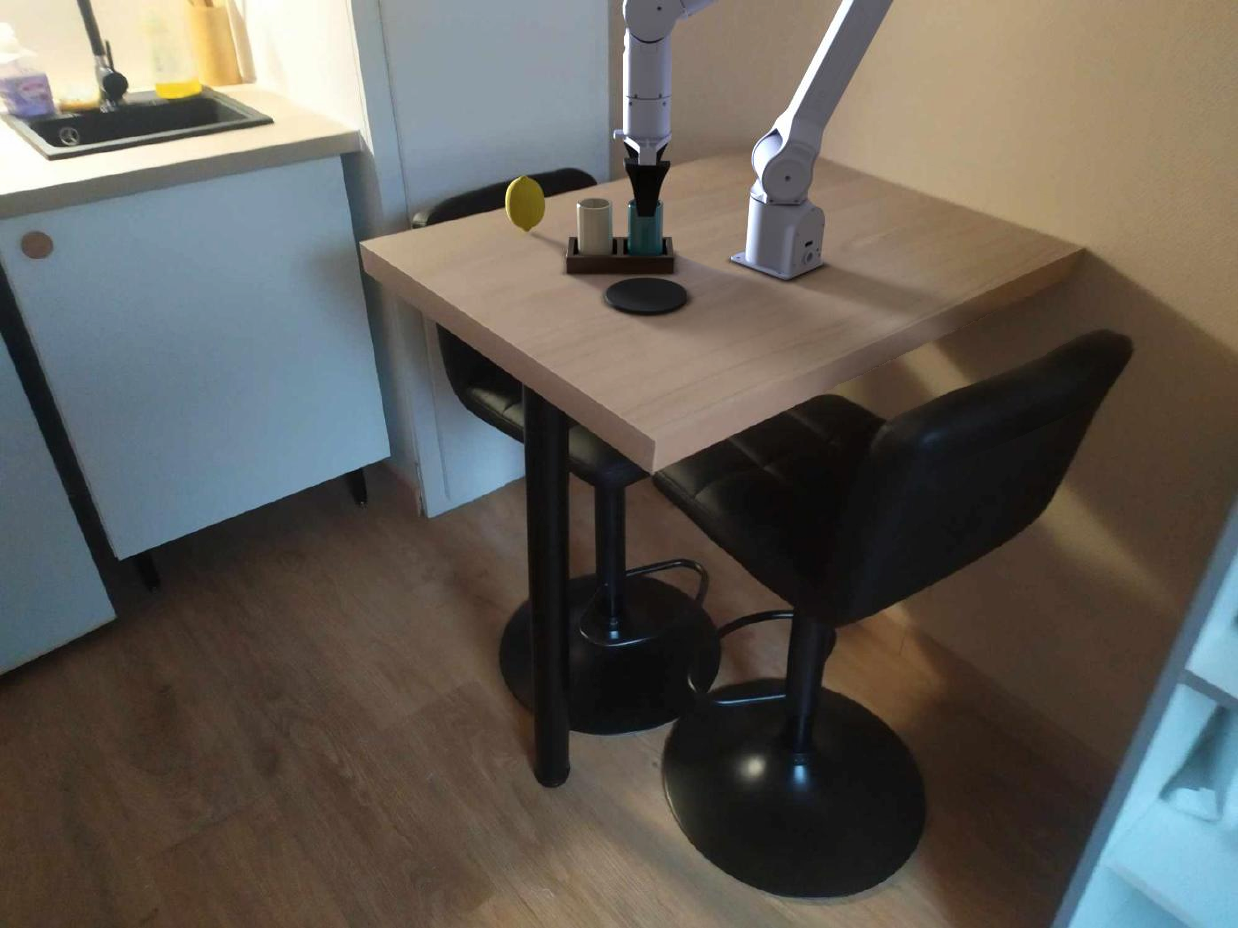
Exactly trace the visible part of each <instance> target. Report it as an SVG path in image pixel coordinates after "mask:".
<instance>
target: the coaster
mask: <svg viewBox="0 0 1238 928" xmlns="http://www.w3.org/2000/svg"><path fill="white" fill-rule="evenodd" d="M605 300H606V303H607V304H608V305H609V306H610V307H612V308H613V309H615V310H618V311H621V312H623V313H627V314H631V315H641V316H655V315H662V314H663V315H664V314H667V313H671V312H674V311H677V310H679V309H680V308H682V307H683V306H684V305H685V304H686V303H687V301H688V292H687V290H686V289H685V288H684V286H682V285H680V284H679V283H677V282H675V281H672V280H669V279H666V278H665V279H664V278H659V277H648V276H647V277H645V276H644V277H642V276H641V277H632V278H626V279H623V280H620V281H617V282H614V283H613V284H611V285H610V286H609V287H608V288H607V289H606V290H605Z"/></svg>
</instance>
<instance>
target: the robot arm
mask: <svg viewBox="0 0 1238 928" xmlns="http://www.w3.org/2000/svg"><path fill="white" fill-rule="evenodd" d="M718 1H719V0H623V4H622V5H621V12H622V16H623V19H624V22H625V25H626V28H625V34H624V36H623V37H624V38H623V39H624V41H623V43H624V47H625V50H624V52H623V55H622V56H623V57H622V58H623V63H622V65H623V70H622V71H623V72H622V73H623V74H622V75H623V77H622V79H623V80H622V81H623V82H622V83H623V84H622V85H623V87H622V89H623V91H622V92H623V93H622V94H623V95H622V96H623V101H622V102H623V105H622V106H623V111H622V112H623V113H622V114H623V115H622V116H623V117H622V118H623V119H622V120H623V123H622V125H623V126H622V127H623V128H622V129H614V130H613V139H614V140H622V141H623V145H624V147H625V149H626V151H627V154H628V157H623V168H624V170H625V172H626V174H627V176H628V178H629V180H630V185H631V189H632V194H633V199H634V201H635V207H636V212H637V215H638V217H654V215H655V212H656V209H657V204H658V199H659V198H660V193H661V189H662V186H663V183H664V180H665V178H666V176H667V174H668V172H669V171H670V168H671V164H672V163H671V160H662V159H663V158H662V157H663V155H664V153H665V150H666V148H667V146H668V145H669V142H670V141H671V140H672V136H673V135H672V134H673V133H672V130H671V115H672V114H671V111H672V109H671V108H672V79H673V77H672V76H673V52H672V51H671V41H672V31H673V30H674V28H675V26H676V22H677V21H678V20H683V21H685V20H687V19H688V18H691V17H692V16H694V15H696V14H697V13H699V12H701V11H702V10H704V9H706V8H708V7H709V6H711V5H713V4H714V3H716V2H718ZM894 1H895V0H842V1H841V4H840V5H839V7H838V10H836V11H837V12H836V13H835V15H834V18H833V19H832V21H831V22H830V25H829V27H828V29H827V31H826V33H825V36H824V37H823V39H822V41H821V43H820V45H819V47H818V49H817V50H816V52H815V54H814V57H813V59H812V60H811V62H810V64H809V66H808V68H807V70H806V73H805V74H804V76H803V78H802V80H801V82H800V84H799V86H798V88H797V90H796V92H795V93H794V95H793V98H792V99H791V102H790V104H789V106H788V107H787V109H786V110H785V111H784V112H783V113H782V114H781V115H779V117H778V118H777V119H776V120H775V122H774V124H773V126H772V127H771V129H769V131H768V133H766V134H765V135H764V136H762V137H761V138H760V139H759V140H758V141H757V143H756V144H755V145H754V147H753V150H752V153H751V165H752V169H753V170H754V172H755V174H756V175H757V176H758V177H757V178H756V181H755V182H754V184H753V186H751V188H750V194H749V207H748V221H747V231H746V233H747V234H746V246H745V250H744V251H742V252H739V253H736V254H733V255H731V257H730V258H731V259H730V260H731V261H733V262H736V263H738V264H741V265H744V266H746V267H748V268H751V269H754V270H756V271H759V272H762V273H764V274H767V275H770V276H772V277H776V278H778V279H781V280H784V281H788V280H790V279H793V278H796V277H797V276H800V275H802V274H804V273H807V272H810V271H811V270H814V269H816V268H819V267H820V266H823V265H824V261H823V260H822V259H821V257H822V248H823V242H824V235H825V234H824V233H825V232H824V231H825V225H826V217H825V212H824V210H823V208H822V207H820V206H818V205H817V204H814V203H813V202H812V201H811V200H810V199H809V190H810V188H811V186H812V183H813V179H814V167H815V164H816V161H817V159H818V157H819V156H820V153H821V149H822V143H823V135H824V132H825V129H826V127H827V126H828V123H829V122H830V120H831V117H832V116H833V114H834V112H835V110H836V109H837V106H838V105H839V103H840V101H841V99H842V97H843V96H844V93H845V92H846V90H847V88H848V86H849V85H850V83H851V81H852V79H853V78H854V75H855V73H856V71H857V69H858V68H859V66H860V64H861V62H862V60H863V58H864V56H865V54H866V52H867V51H868V49H869V46H870V45H871V44H872V42H873V40H874V37H875V36H876V35H877V33H878V30H879V28H880V27H881V25H882V23H883V22H884V19H885V17H886V16H887V14H888V12H889V10H890V9H891V6H892V4H893V3H894ZM659 200H660V199H659Z"/></svg>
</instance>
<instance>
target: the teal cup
mask: <svg viewBox="0 0 1238 928" xmlns="http://www.w3.org/2000/svg"><path fill="white" fill-rule="evenodd" d="M663 230H664V202H663V201H662V200H661V199H658V204H657V209H656V212H655V215H654V217H638V215H637V212H636V207H635V201H634V198H633V199H630V200H629V201H628V202H627V237H628V254H627V255H663V254H662V239H663V237H664V236H663V235H664V232H663Z"/></svg>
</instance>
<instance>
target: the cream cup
mask: <svg viewBox="0 0 1238 928" xmlns="http://www.w3.org/2000/svg"><path fill="white" fill-rule="evenodd" d="M613 205H614V203H613V201H612V200H610V199H608V198H605V197H585V198H582V199H580V200H577V202H576V219H577V221H576V224H577V237H578V254H577V255H614V254H613V237H614V226H613V225H614V224H613V222H614V221H613V218H614V217H613V213H614V212H613V209H614V208H613Z"/></svg>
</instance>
